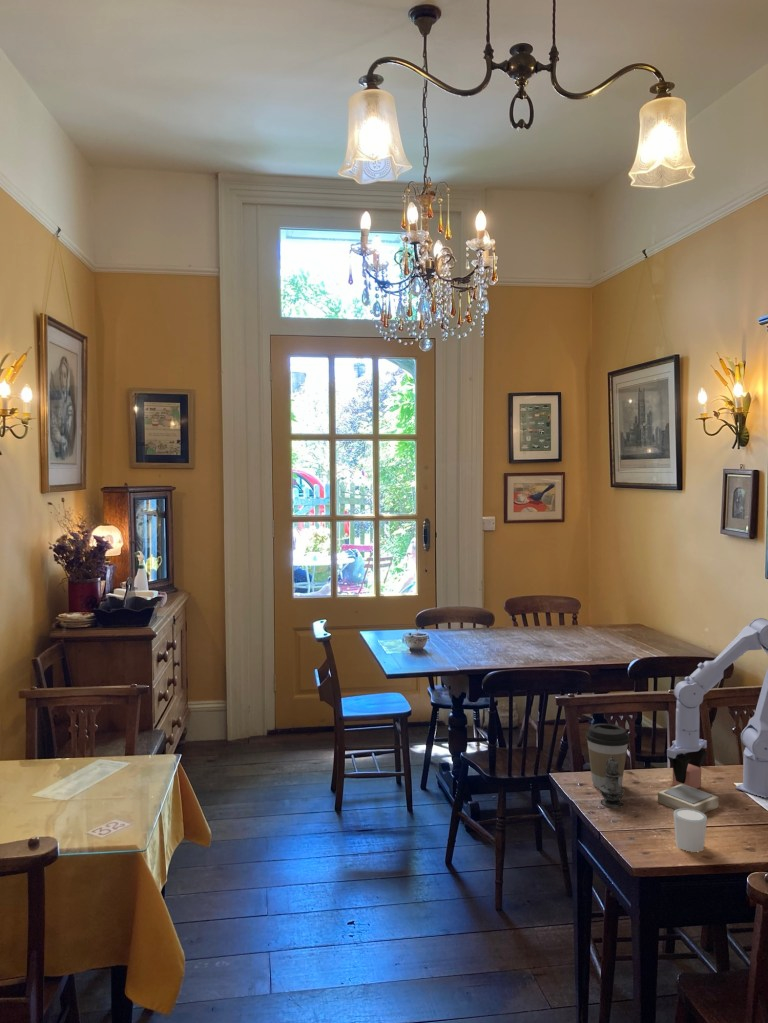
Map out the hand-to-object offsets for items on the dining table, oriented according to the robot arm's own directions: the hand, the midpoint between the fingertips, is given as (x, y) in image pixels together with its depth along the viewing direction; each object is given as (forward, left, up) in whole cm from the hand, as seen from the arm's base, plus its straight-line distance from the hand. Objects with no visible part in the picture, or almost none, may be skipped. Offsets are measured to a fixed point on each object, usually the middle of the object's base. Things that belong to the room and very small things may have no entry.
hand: (686, 779), depth 195 cm
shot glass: (+29, +20, -2) cm, 35 cm away
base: (+10, +7, -2) cm, 12 cm away
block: (0, 0, -2) cm, 2 cm away
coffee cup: (+17, -12, -2) cm, 21 cm away
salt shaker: (+25, -4, -2) cm, 25 cm away
